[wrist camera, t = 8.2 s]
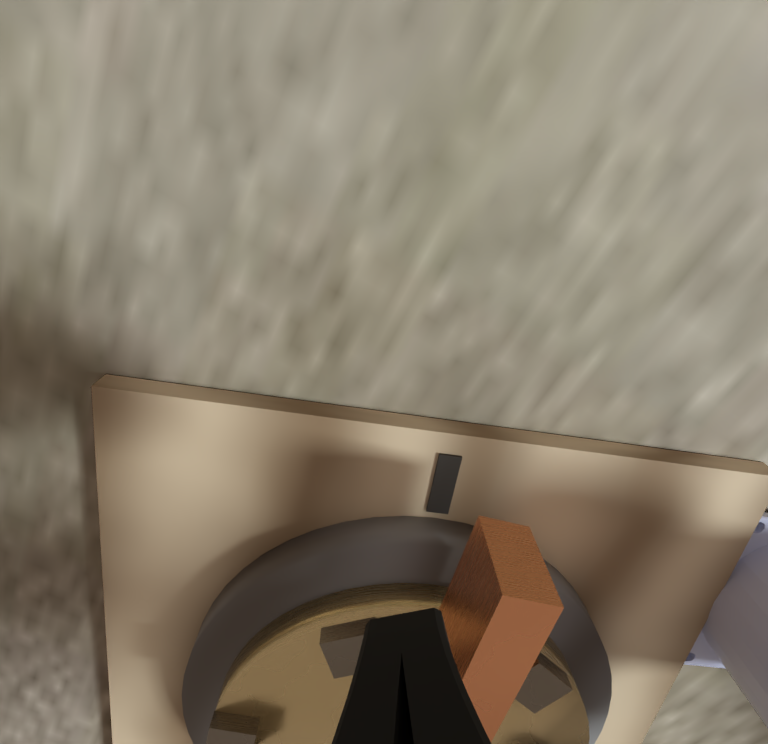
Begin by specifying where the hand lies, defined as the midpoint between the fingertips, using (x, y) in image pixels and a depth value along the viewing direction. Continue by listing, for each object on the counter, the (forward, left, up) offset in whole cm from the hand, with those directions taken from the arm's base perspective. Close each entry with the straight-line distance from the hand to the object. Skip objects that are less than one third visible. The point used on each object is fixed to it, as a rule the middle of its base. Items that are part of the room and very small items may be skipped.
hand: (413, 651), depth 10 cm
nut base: (-2, +12, -9) cm, 15 cm away
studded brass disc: (-2, +10, -7) cm, 12 cm away
